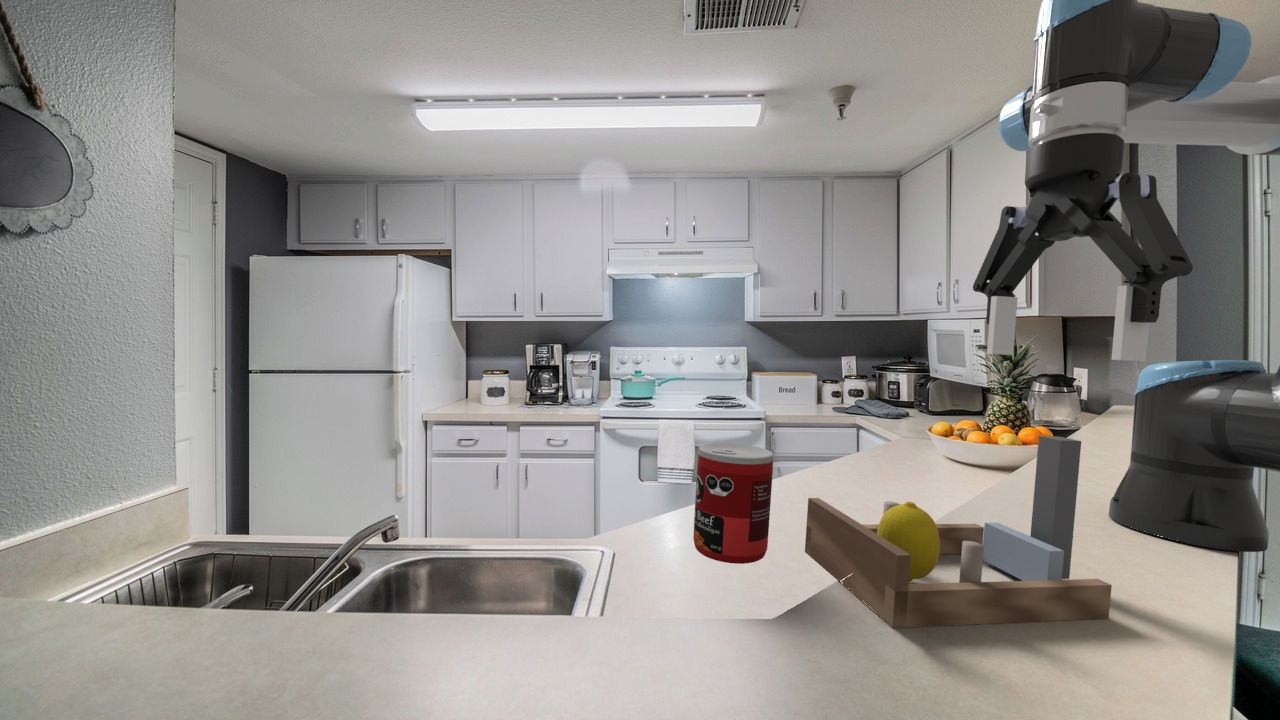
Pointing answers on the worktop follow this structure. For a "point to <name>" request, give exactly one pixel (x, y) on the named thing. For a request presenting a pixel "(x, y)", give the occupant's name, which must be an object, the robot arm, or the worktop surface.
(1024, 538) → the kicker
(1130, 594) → the worktop surface
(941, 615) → the lane
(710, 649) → the worktop surface
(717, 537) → the canned food
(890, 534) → the lemon
